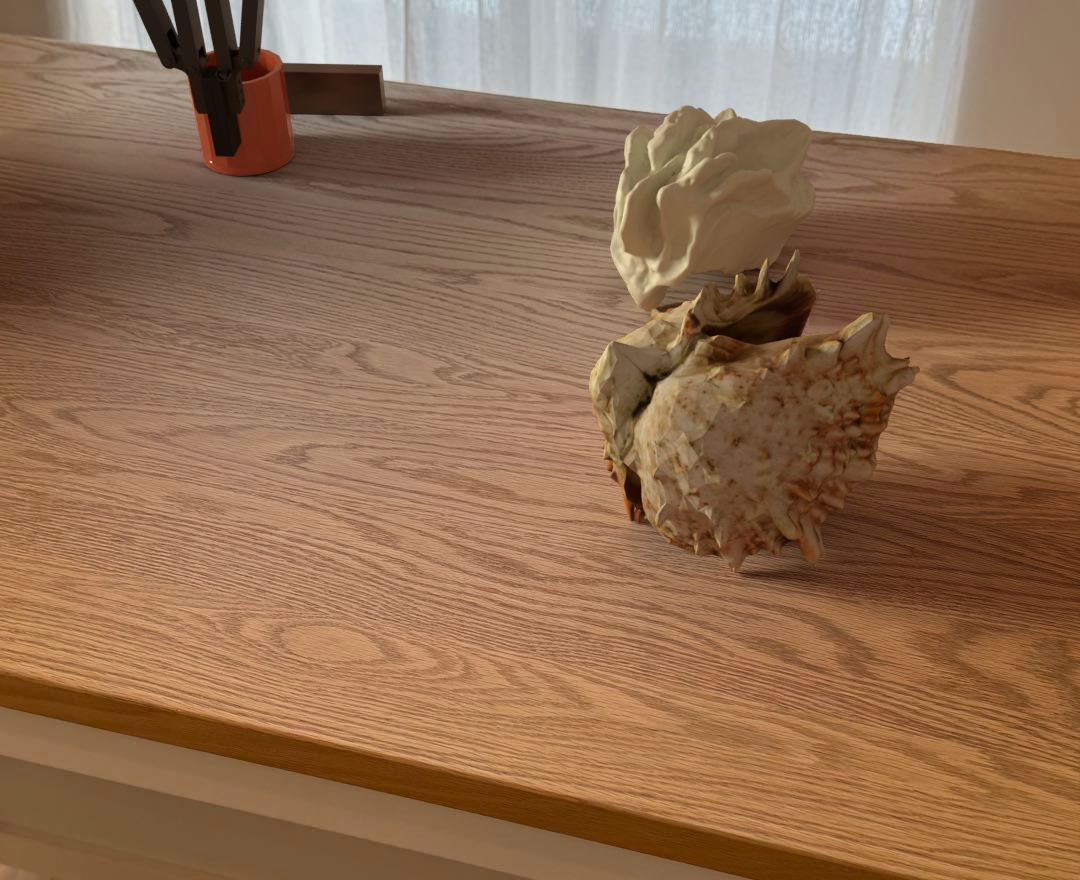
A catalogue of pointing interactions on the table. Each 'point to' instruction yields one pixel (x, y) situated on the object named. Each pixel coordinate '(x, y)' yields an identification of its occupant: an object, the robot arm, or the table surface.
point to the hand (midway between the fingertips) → (228, 149)
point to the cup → (254, 121)
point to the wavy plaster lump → (707, 198)
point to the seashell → (744, 416)
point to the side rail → (335, 89)
